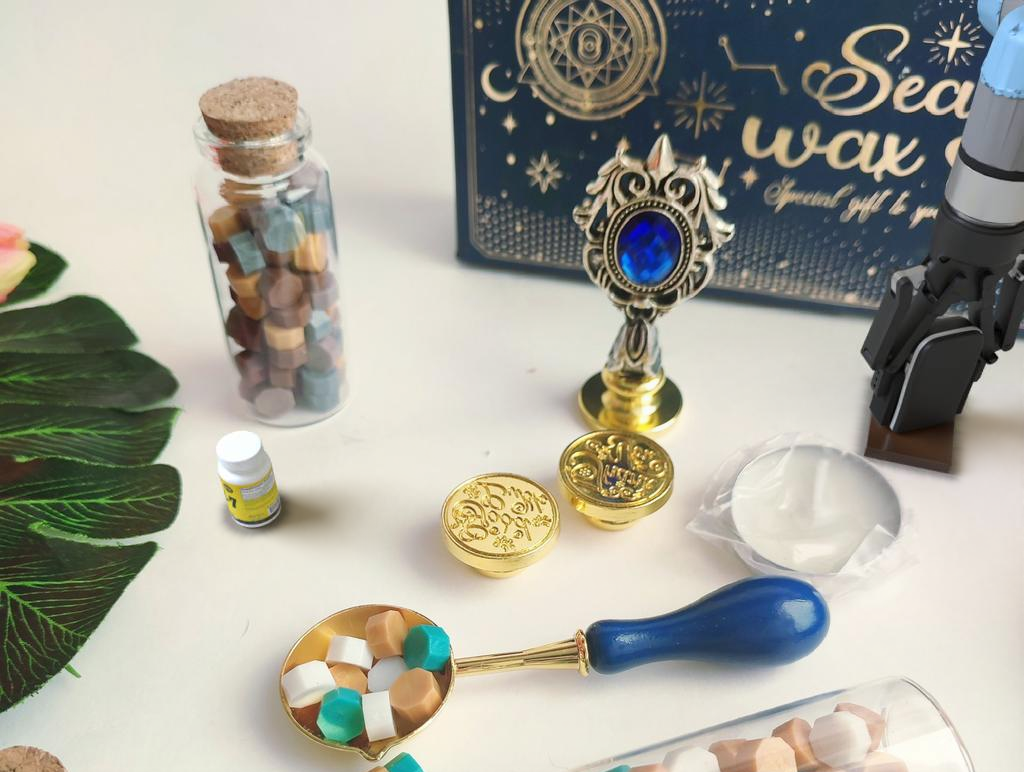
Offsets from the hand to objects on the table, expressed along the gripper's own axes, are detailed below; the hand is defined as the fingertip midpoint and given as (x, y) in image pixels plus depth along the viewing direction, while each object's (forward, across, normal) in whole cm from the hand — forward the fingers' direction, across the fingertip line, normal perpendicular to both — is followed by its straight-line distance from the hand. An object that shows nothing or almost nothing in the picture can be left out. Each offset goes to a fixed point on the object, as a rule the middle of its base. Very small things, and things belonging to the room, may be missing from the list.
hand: (915, 410), depth 107 cm
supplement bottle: (+2, +65, -2) cm, 65 cm away
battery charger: (+1, 0, 0) cm, 1 cm away
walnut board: (+2, 0, 0) cm, 2 cm away
